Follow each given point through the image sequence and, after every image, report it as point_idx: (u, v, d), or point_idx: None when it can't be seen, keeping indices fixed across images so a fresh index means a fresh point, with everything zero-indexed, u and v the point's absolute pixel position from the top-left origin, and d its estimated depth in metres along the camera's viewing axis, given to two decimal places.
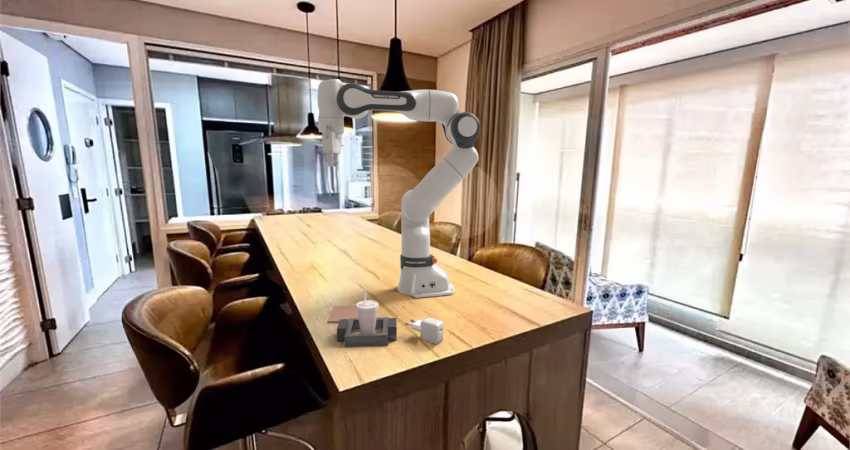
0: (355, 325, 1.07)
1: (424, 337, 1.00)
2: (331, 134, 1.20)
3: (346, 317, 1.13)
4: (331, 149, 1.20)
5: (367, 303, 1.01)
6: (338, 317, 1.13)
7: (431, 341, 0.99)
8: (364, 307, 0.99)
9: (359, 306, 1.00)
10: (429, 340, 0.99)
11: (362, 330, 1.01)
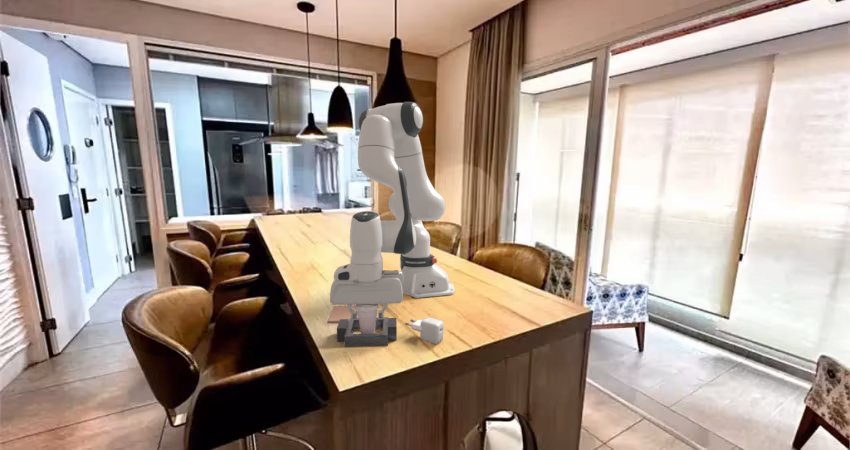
0: (355, 325, 1.07)
1: (424, 337, 1.00)
2: None
3: (346, 317, 1.13)
4: None
5: None
6: (338, 317, 1.13)
7: (431, 341, 0.99)
8: (364, 307, 0.99)
9: (359, 306, 1.00)
10: (429, 340, 0.99)
11: (362, 330, 1.01)
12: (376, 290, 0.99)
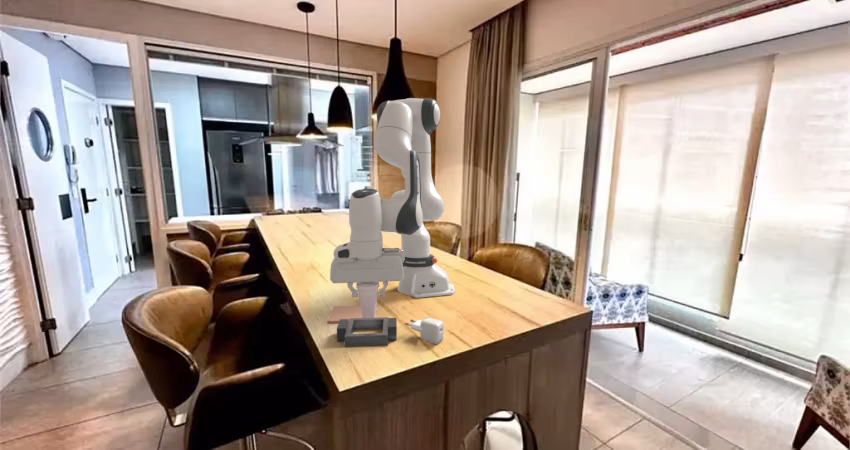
0: (355, 325, 1.07)
1: (424, 337, 1.00)
2: None
3: (346, 317, 1.13)
4: None
5: (367, 282, 1.01)
6: (338, 317, 1.13)
7: (431, 341, 0.99)
8: (365, 286, 0.98)
9: (359, 285, 0.99)
10: (429, 340, 0.99)
11: (363, 309, 1.00)
12: (376, 268, 0.98)
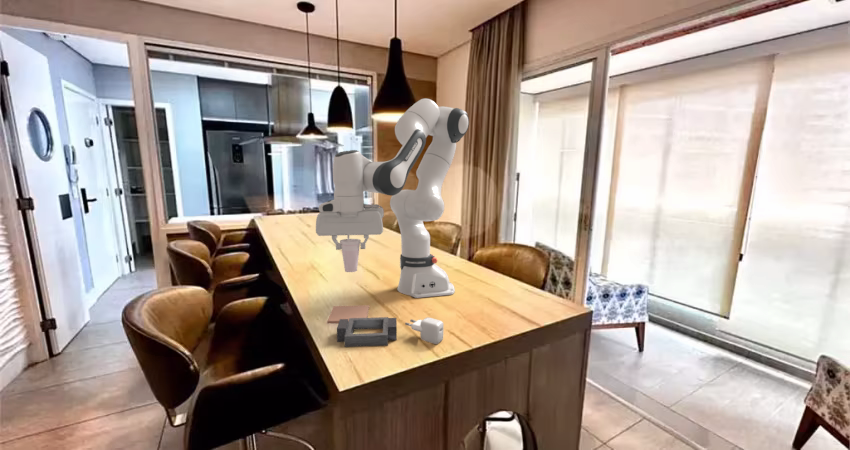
0: (355, 325, 1.07)
1: (424, 337, 1.00)
2: None
3: (346, 317, 1.13)
4: None
5: (350, 239, 1.11)
6: (338, 317, 1.13)
7: (431, 341, 0.99)
8: (348, 241, 1.09)
9: (343, 241, 1.09)
10: (429, 340, 0.99)
11: (346, 264, 1.10)
12: (358, 222, 1.09)
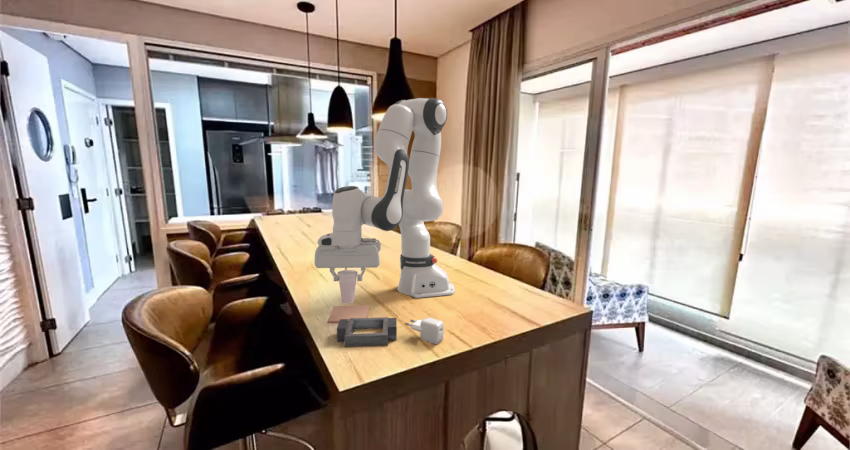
0: (355, 325, 1.07)
1: (424, 337, 1.00)
2: None
3: (346, 317, 1.13)
4: None
5: (347, 271, 1.15)
6: (338, 317, 1.13)
7: (431, 341, 0.99)
8: (345, 274, 1.12)
9: (340, 273, 1.13)
10: (429, 340, 0.99)
11: (343, 295, 1.13)
12: (355, 255, 1.12)
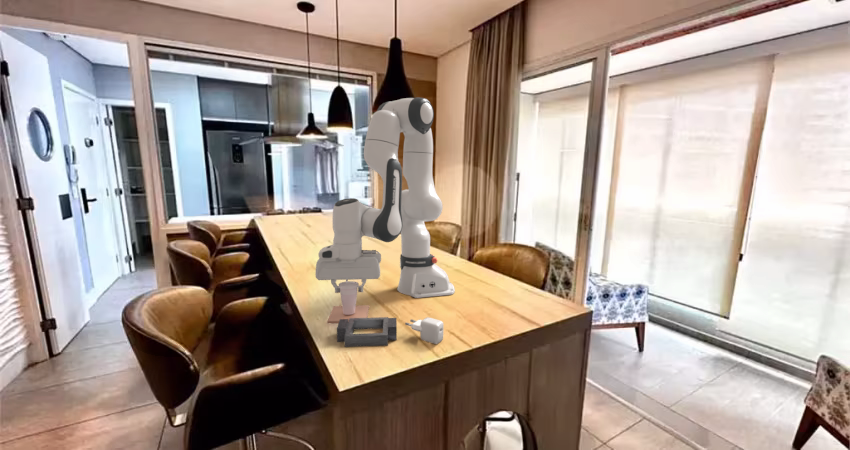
0: (355, 325, 1.07)
1: (424, 337, 1.00)
2: None
3: (346, 317, 1.13)
4: None
5: (348, 283, 1.15)
6: (338, 317, 1.13)
7: (431, 341, 0.99)
8: (346, 285, 1.13)
9: (341, 285, 1.14)
10: (429, 340, 0.99)
11: (344, 307, 1.14)
12: (356, 267, 1.13)
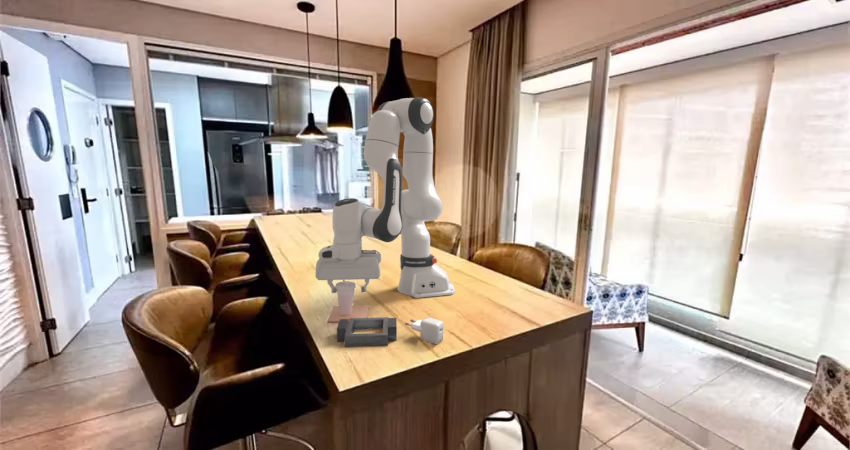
0: (355, 325, 1.07)
1: (424, 337, 1.00)
2: None
3: (346, 317, 1.13)
4: None
5: (345, 283, 1.15)
6: (338, 317, 1.13)
7: (431, 341, 0.99)
8: (343, 286, 1.13)
9: (338, 285, 1.13)
10: (429, 340, 0.99)
11: (341, 307, 1.14)
12: (356, 267, 1.13)
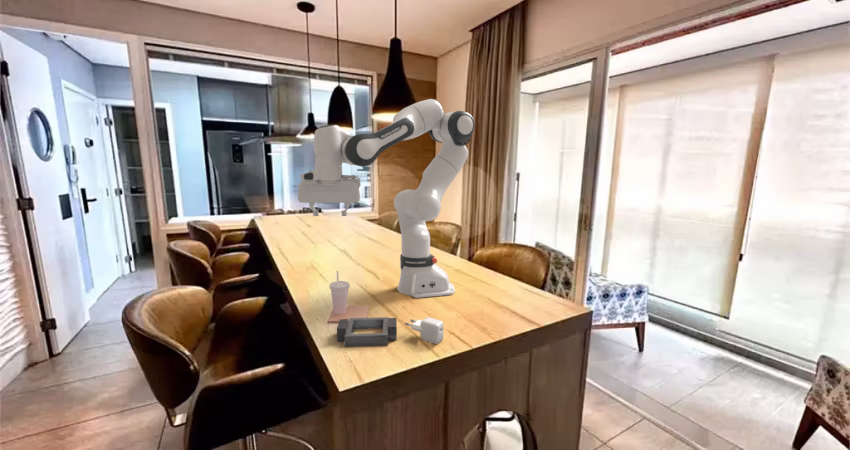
0: (355, 325, 1.07)
1: (424, 337, 1.00)
2: None
3: (346, 317, 1.13)
4: None
5: (339, 283, 1.15)
6: (338, 317, 1.13)
7: (431, 341, 0.99)
8: (337, 286, 1.13)
9: (332, 286, 1.13)
10: (429, 340, 0.99)
11: (335, 307, 1.15)
12: (336, 190, 1.19)
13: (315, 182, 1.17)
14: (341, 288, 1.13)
